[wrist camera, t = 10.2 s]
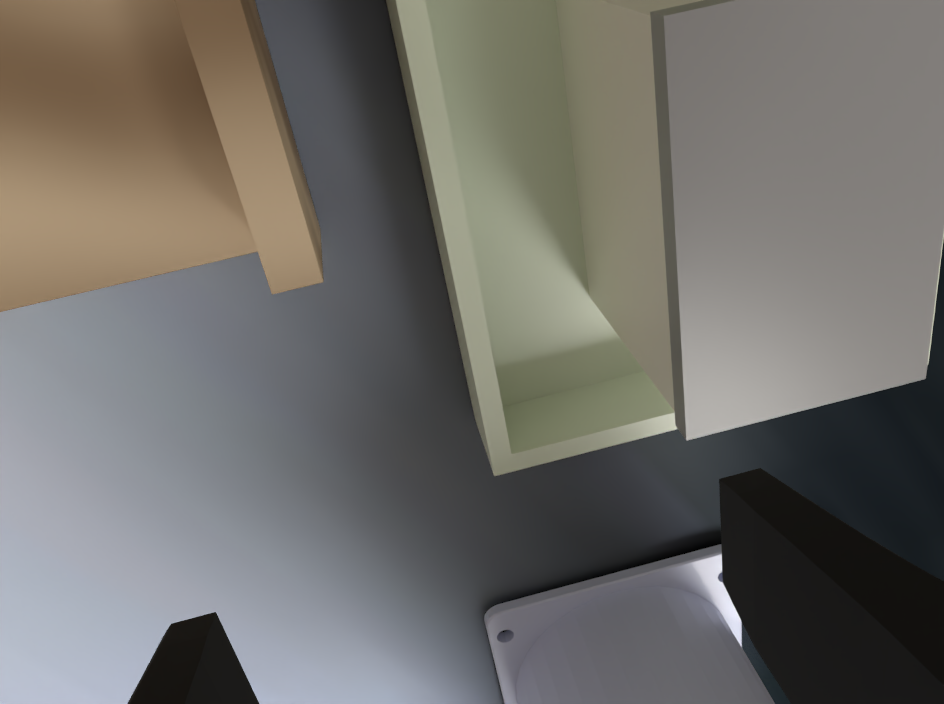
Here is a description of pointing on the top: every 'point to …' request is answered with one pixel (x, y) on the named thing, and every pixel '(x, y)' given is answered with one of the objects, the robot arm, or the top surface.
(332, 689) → the top surface
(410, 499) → the top surface
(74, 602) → the top surface
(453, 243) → the tray
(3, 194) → the dock
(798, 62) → the grey box
